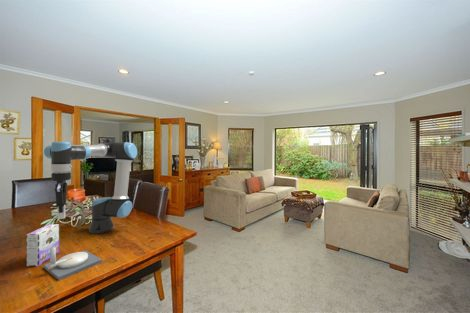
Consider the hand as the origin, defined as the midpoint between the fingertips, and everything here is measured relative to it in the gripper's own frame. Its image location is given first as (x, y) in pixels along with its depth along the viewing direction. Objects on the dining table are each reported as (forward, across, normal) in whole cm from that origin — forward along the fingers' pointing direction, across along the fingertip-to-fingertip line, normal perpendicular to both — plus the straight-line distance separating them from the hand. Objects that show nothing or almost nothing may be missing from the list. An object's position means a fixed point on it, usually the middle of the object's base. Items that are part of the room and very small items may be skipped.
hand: (61, 218), depth 104 cm
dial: (+22, -5, -4) cm, 23 cm away
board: (+24, -4, -5) cm, 25 cm away
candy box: (+24, +10, +9) cm, 27 cm away
